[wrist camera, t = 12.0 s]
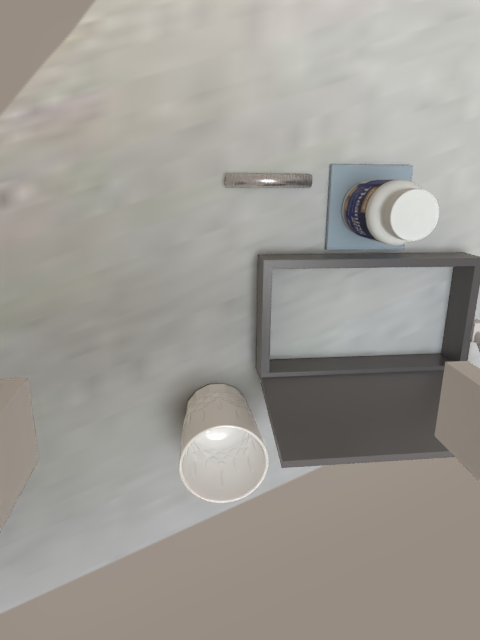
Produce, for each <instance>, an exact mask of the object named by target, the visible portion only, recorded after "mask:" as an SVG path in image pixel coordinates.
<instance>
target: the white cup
mask: <svg viewBox="0 0 480 640" xmlns="http://www.w3.org/2000/svg"><path fill="white" fill-rule="evenodd" d="M267 469H268V454H267V450H266V448H265V445H264V442H263V440H262V437H261V435H260V432H259V429H258V427H257V424H256V422H255V420H254V417H253V415H252V413H251V411H250V409H249V407H248V405H247V402H246V400H245V397H244V396H243V395H242V394H241V393H240V392H239V391H238V390H237V389H236V388H234V387H231V386H228V385H225V384H209V385H207V386H205V387H203V388H201V389H199V390H197V391H196V392H195V393H194V395H193V396H192V397H191V398H190V400H189V401H188V404H187V409H186V414H185V419H184V424H183V432H182V439H181V450H180V461H179V472H180V476H181V479H182V481H183V483H184V485H185V486H186V488H187V489H188V490H189V491H190V492H191V493H192V494H194V495H195V496H197V497H198V498H200V499H203V500H205V501H209V502H214V503H227V502H233V501H236V500H239V499H242V498H244V497H246V496H247V495H249V494H251V493H252V492H253V491H254V490H255V489H256V488H257V487H258V486H259V485H260V484H261V483H262V481H263V479H264V477H265V475H266V473H267Z"/></svg>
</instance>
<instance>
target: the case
mask: <svg viewBox="0 0 480 640" xmlns="http://www.w3.org/2000/svg"><path fill="white" fill-rule="evenodd" d="M450 266H454V269H453V276H452V283H451V290H450V297H449V304H448V311H447V318H446V325H445V332H444V338H443V345H442V352H441V354H413V355H386V356H358V357H330V358H303V359H275V360H270V326H271V290H272V269H307V268H378V267H450ZM479 285H480V257H479V256H475V255H471V254H467V253H371V254H275V255H258V278H257V333H256V369H257V371H258V374H259V377H260V379H261V386H262V390H263V394H264V398H265V402H266V406H267V410H268V414H269V418H270V422H271V427H272V431H273V435H274V439H275V443H276V447H277V451H278V455H279V459H280V463H281V467H282V468H287V467H303V466H319V465H334V464H350V463H366V462H382V461H398V460H414V459H429V458H445V457H455V456H454V455H453V454H452V453H451V452H450V451H449V450H448V449H447V448H446V447H445V446H444V445H443V444H442V443H441V442H440V441H439V440H438V439H437V438H436V437H435V429H436V422H437V415H438V408H439V402H440V395H441V388H442V381H443V374H444V368H445V362H453V361H467V359H468V353H469V347H470V341H471V342H476V343H477V346H478V348H479V351H480V321H479V320H474V316H475V310H476V304H477V298H478V292H479Z"/></svg>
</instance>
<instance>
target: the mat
mask: <svg viewBox="0 0 480 640" xmlns="http://www.w3.org/2000/svg"><path fill="white" fill-rule="evenodd" d="M412 172H413V165H330V177H329V193H328V210H327V226H326V243H325V249H326V250H364V249H404V244H403V245H387V244H384V243H381V242H377V241H374V240H371V239H368V238H365V237H361V236H359V235H357V234H355V233H353V232H352V231H351V230H349V228H348V227H347V226H346V224H345V222H344V219H343V215H342V206H343V202H344V199H345V197H346V195H347V193H348V192H349V191H350V190H351V188H353V187H354V186H355V185H357V184H358V183H360V182H363V181H367V180H398V179H402V180H408V181H412Z"/></svg>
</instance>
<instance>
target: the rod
mask: <svg viewBox="0 0 480 640" xmlns="http://www.w3.org/2000/svg"><path fill="white" fill-rule="evenodd" d="M311 186H312V175H311V174H226V187H281V188H311Z"/></svg>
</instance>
